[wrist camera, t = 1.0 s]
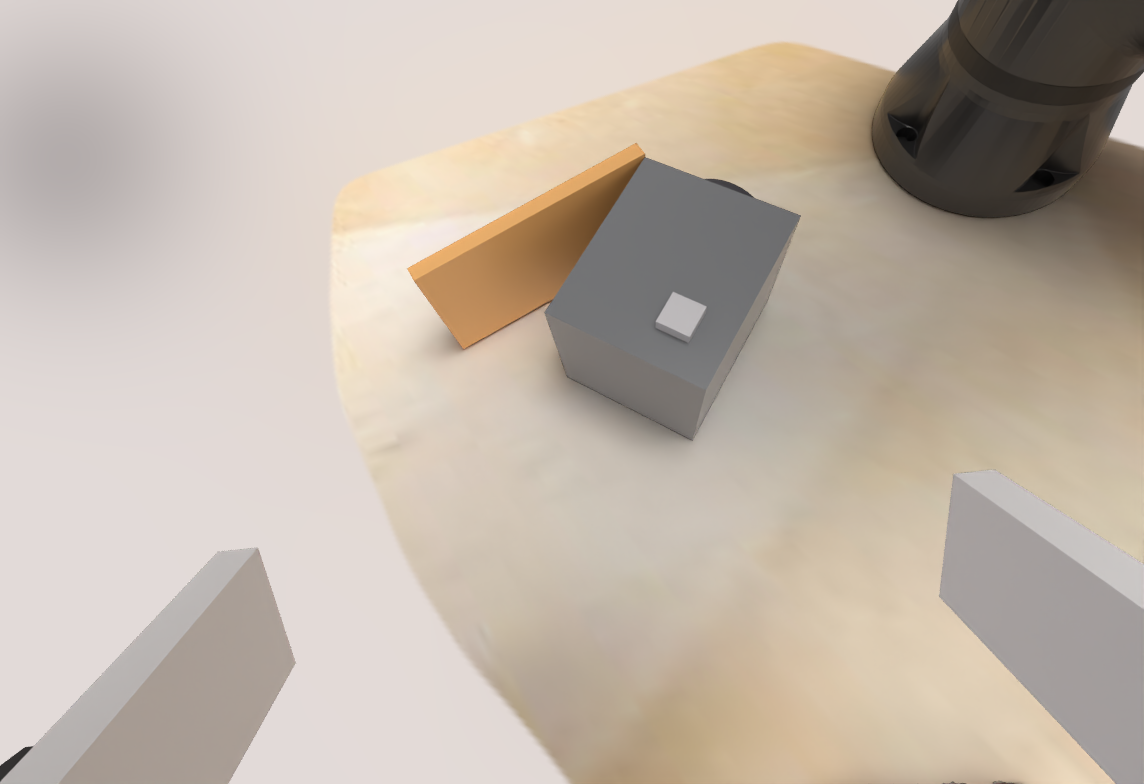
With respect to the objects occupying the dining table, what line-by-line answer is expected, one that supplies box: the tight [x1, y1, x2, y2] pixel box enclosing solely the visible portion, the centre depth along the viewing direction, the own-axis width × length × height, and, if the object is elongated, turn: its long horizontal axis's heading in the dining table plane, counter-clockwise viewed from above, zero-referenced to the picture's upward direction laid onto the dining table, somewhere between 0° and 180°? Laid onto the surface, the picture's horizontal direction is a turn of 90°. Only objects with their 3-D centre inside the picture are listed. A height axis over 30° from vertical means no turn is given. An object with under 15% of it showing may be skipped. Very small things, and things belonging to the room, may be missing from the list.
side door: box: [407, 143, 645, 349], centre depth 40 cm, size 16×2×10 cm, turn 119°
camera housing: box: [545, 157, 801, 440], centre depth 38 cm, size 14×10×11 cm
